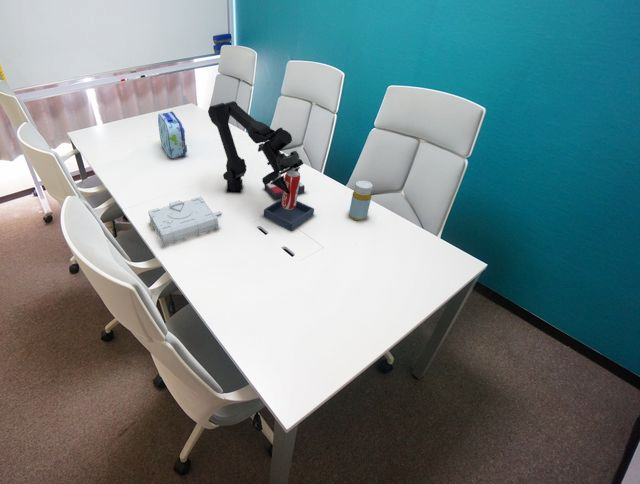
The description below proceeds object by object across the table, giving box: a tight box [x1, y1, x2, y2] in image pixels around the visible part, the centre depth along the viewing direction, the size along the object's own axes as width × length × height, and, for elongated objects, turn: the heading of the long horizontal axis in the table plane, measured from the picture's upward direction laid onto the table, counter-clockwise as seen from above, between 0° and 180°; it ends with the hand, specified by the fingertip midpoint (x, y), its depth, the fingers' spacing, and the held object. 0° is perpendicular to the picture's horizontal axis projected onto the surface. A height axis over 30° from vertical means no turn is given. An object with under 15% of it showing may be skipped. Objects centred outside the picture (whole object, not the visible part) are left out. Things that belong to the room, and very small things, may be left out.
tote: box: [263, 199, 315, 232], centre depth 141 cm, size 15×15×4 cm
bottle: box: [348, 180, 374, 222], centre depth 137 cm, size 7×7×15 cm
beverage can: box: [281, 170, 301, 210], centre depth 134 cm, size 6×6×15 cm
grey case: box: [147, 195, 222, 246], centre depth 137 cm, size 19×28×8 cm
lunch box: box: [157, 110, 188, 159], centre depth 192 cm, size 26×11×21 cm, turn 23°
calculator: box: [263, 177, 306, 201], centre depth 157 cm, size 11×4×15 cm
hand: (294, 190), depth 133 cm, fingers closed on beverage can, 5 cm apart
